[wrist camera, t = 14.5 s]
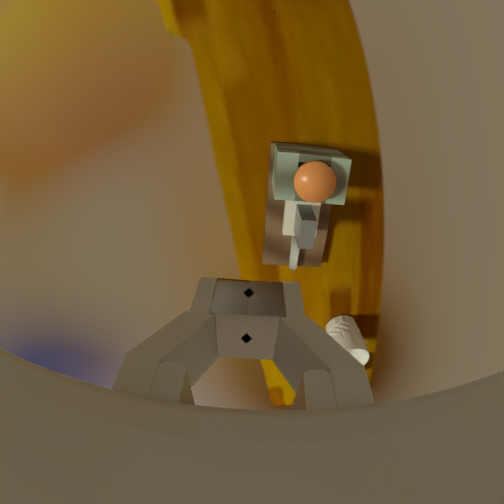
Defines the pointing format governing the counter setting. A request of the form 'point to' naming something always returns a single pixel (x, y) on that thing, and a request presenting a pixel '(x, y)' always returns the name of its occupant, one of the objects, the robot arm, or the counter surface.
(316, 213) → the carriage
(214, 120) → the counter surface
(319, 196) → the button
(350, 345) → the white cup
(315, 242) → the rail bed
